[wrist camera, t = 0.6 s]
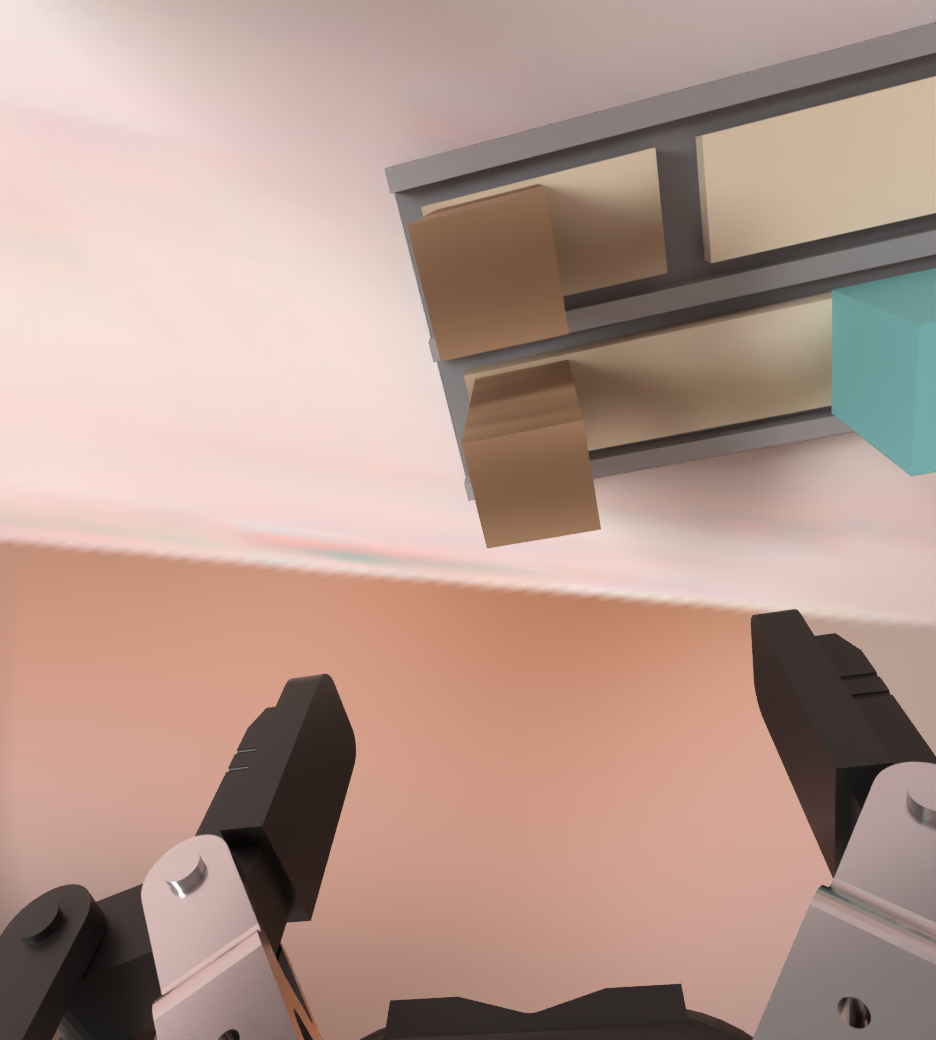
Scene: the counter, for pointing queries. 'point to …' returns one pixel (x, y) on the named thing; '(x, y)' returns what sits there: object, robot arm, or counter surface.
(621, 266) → the short strip
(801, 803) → the robot arm
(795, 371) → the cube strip
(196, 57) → the counter surface
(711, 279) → the lane board
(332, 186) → the counter surface
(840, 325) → the teal cube
